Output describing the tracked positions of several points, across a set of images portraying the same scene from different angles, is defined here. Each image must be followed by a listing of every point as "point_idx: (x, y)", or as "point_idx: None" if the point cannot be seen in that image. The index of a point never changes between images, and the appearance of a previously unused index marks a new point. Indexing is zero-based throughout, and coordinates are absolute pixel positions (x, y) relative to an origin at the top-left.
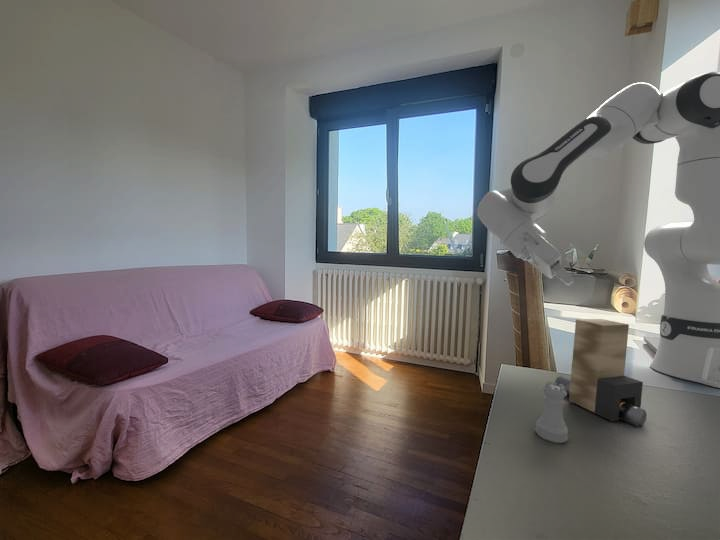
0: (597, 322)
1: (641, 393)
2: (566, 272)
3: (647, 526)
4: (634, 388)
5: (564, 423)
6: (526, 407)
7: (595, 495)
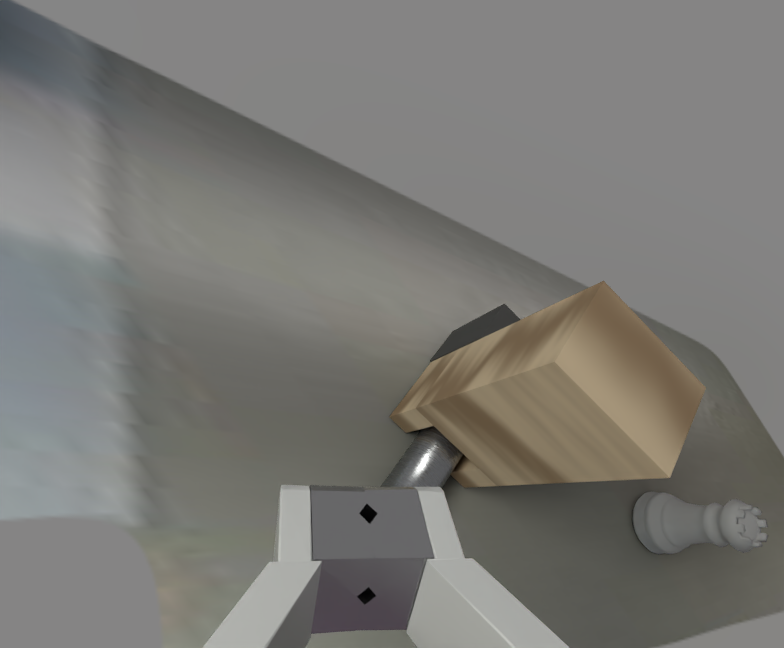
0: (662, 396)
1: (485, 314)
2: (491, 587)
3: (748, 413)
4: None
5: (677, 500)
6: (564, 590)
7: (741, 460)
